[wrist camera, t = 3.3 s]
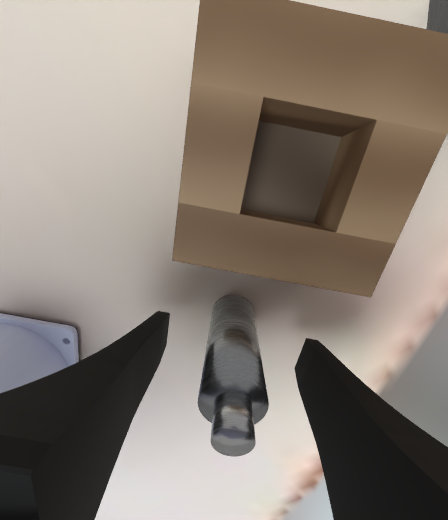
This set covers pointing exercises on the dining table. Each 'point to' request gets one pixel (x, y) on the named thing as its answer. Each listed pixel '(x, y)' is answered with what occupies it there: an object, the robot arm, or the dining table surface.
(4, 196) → the dining table surface
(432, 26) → the square bar
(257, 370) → the round bit
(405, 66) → the socket block
